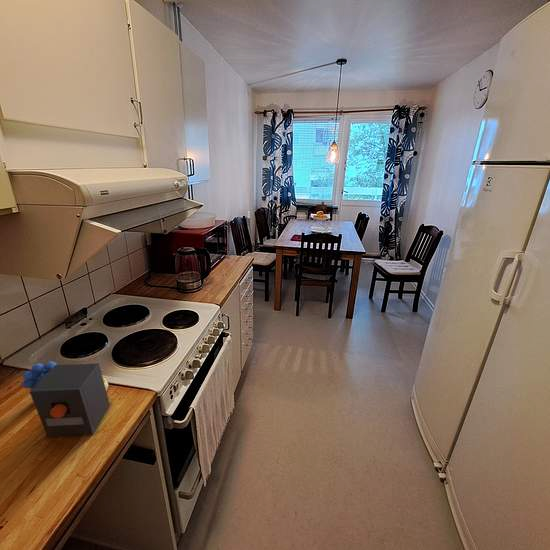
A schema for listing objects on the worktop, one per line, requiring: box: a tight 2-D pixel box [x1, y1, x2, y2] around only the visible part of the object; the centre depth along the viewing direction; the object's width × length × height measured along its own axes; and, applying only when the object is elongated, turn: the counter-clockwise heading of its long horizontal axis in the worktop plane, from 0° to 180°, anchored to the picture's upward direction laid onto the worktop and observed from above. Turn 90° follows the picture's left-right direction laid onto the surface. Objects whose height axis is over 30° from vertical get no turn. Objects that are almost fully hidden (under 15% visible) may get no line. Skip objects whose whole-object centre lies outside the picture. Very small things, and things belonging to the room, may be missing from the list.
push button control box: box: [29, 363, 111, 438], centre depth 80 cm, size 12×10×16 cm
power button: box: [50, 404, 67, 418], centre depth 74 cm, size 3×2×3 cm, turn 94°
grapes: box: [21, 361, 58, 391], centre depth 90 cm, size 12×7×12 cm, turn 132°
